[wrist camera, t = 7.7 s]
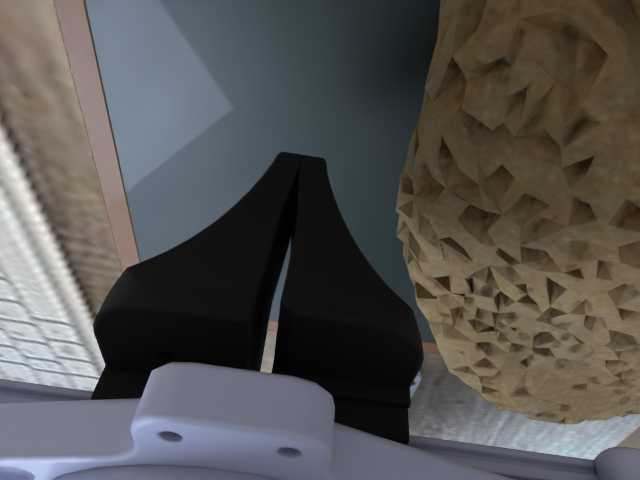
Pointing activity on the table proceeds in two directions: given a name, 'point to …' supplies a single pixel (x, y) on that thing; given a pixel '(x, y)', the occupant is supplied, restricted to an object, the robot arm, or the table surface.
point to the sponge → (531, 204)
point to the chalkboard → (250, 112)
